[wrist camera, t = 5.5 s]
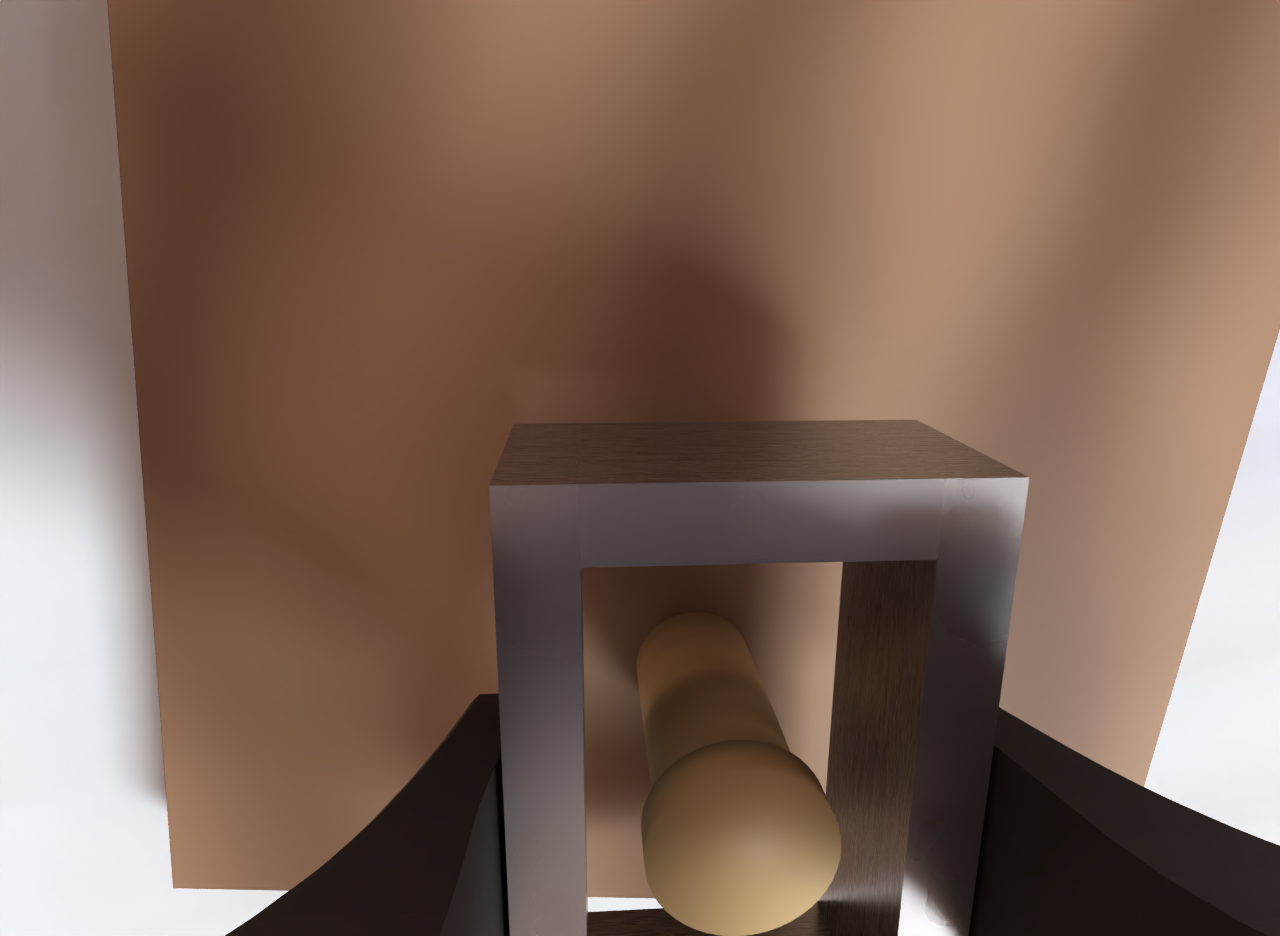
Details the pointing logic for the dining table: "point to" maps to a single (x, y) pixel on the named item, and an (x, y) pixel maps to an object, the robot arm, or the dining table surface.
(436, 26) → the keeper board
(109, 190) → the dining table surface
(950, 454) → the silver rectangular frame
